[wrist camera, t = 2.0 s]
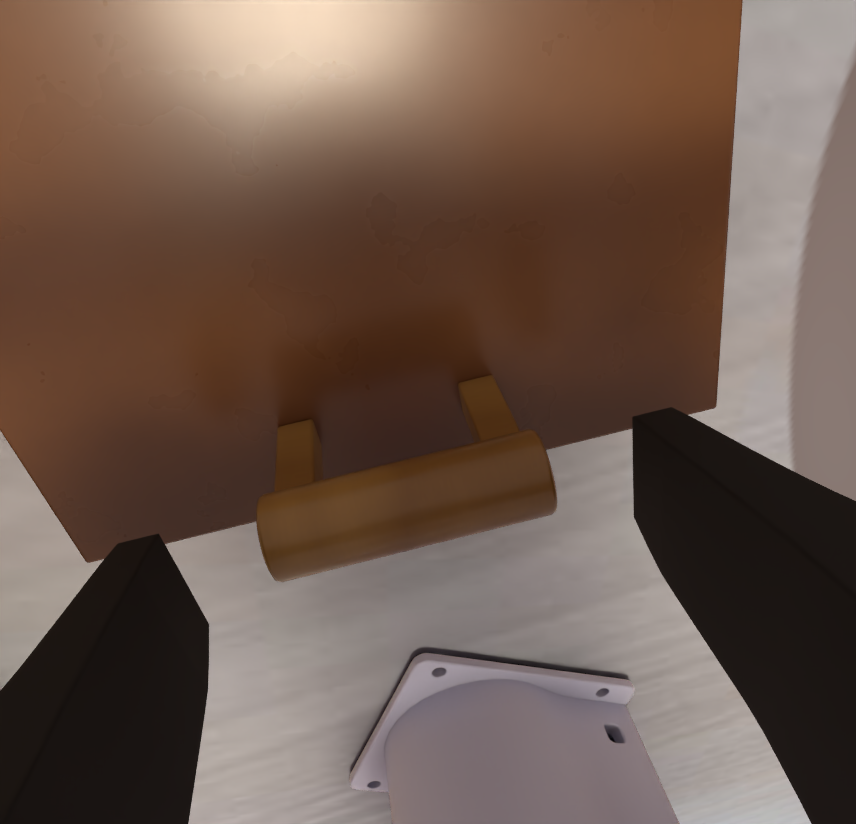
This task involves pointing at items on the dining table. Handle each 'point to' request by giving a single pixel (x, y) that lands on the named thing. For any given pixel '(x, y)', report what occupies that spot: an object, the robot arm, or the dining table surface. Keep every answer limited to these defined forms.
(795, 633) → the robot arm
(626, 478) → the dining table surface
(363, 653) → the dining table surface
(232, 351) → the box lid
